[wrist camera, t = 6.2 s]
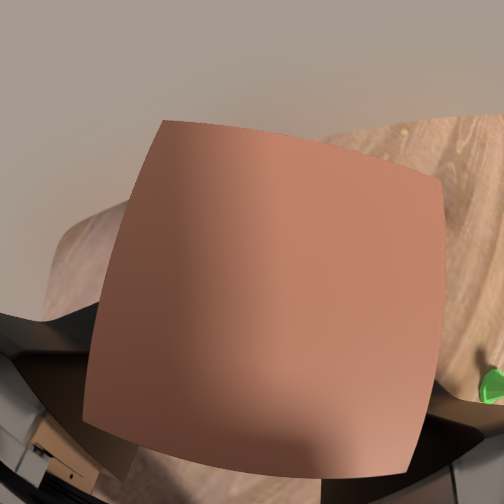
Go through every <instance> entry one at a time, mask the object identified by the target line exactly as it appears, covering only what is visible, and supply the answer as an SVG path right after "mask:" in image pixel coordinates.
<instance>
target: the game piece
mask: <svg viewBox="0 0 504 504" xmlns="http://www.w3.org/2000/svg"><path fill="white" fill-rule="evenodd" d="M479 393H480V402H483V403H487V404H492V403H493V402H494V401H495V400H498V399H500V398H503V397H504V377H503V372H502V371H500V370H498V369H491V370H490V371H489V372H488V373H487V374H486V375H485V376H484V378H483V381H482V384H481V387H480V389H479Z"/></svg>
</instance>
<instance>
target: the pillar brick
mask: <svg viewBox="0 0 504 504" xmlns="http://www.w3.org/2000/svg"><path fill="white" fill-rule="evenodd" d="M445 291H446V230H445V214H444V202H443V193H442V184H441V180H440V179H437V178H434V177H432V176H429V175H427V174H424V173H421V172H418V171H416V170H413V169H410V168H407V167H404V166H401V165H398V164H395V163H392V162H389V161H386V160H383V159H379V158H376V157H373V156H369V155H366V154H363V153H359V152H355V151H352V150H348V149H344V148H340V147H336V146H332V145H328V144H324V143H320V142H315V141H311V140H306V139H302V138H297V137H292V136H287V135H282V134H276V133H270V132H265V131H259V130H252V129H246V128H239V127H231V126H223V125H214V124H206V123H195V122H183V121H168V120H163V121H162V124H161V126H160V128H159V130H158V132H157V134H156V136H155V138H154V140H153V143H152V145H151V147H150V150H149V152H148V154H147V156H146V159H145V161H144V164H143V166H142V168H141V171H140V173H139V176H138V178H137V181H136V183H135V186H134V188H133V191H132V194H131V196H130V199H129V202H128V205H127V208H126V210H125V213H124V216H123V219H122V222H121V225H120V228H119V231H118V234H117V238H116V241H115V244H114V247H113V251H112V254H111V258H110V261H109V265H108V269H107V272H106V276H105V280H104V284H103V288H102V292H101V297H100V301H99V305H98V310H97V315H96V320H95V325H94V330H93V335H92V341H91V347H90V353H89V360H88V367H87V375H86V384H85V393H84V405H83V420H82V421H84V422H86V423H88V424H90V425H92V426H94V427H97V428H99V429H101V430H103V431H105V432H108V433H110V434H112V435H114V436H117V437H119V438H122V439H124V440H127V441H129V442H132V443H134V444H137V445H140V446H143V447H145V448H148V449H151V450H154V451H157V452H160V453H163V454H167V455H170V456H173V457H177V458H180V459H184V460H188V461H191V462H195V463H199V464H204V465H208V466H213V467H217V468H222V469H228V470H233V471H239V472H245V473H252V474H260V475H268V476H278V477H291V478H312V479H340V478H361V477H373V476H383V475H391V474H399V473H405V472H406V471H407V469H408V466H409V464H410V461H411V458H412V456H413V453H414V450H415V447H416V444H417V441H418V438H419V435H420V432H421V429H422V426H423V422H424V419H425V415H426V412H427V408H428V404H429V400H430V396H431V392H432V387H433V383H434V378H435V373H436V368H437V362H438V356H439V350H440V343H441V336H442V327H443V318H444V306H445Z"/></svg>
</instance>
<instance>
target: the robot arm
mask: <svg viewBox="0 0 504 504" xmlns="http://www.w3.org/2000/svg"><path fill="white" fill-rule="evenodd" d="M98 305H99V302H97V303H95V304H92V305H90V306H88V307H85V308H83V309H80V310H78V311H75V312H73V313H70V314H68V315H65V316H63V317H60V318H58V319H55V320H52V321H45V322H37V321H32V320H27V319H23V318H19V317H14V316H10V315H6V314H2V313H0V504H109V503H106V502H104V501H102V500H100V499H98V498H96V497H94V496H92V495H91V494H92V491H93V489H94V486H95V483H96V481H97V478H98V476H99V473H102V474H104V475H107V476H109V477H111V478H113V479H116V480H118V481H120V482H124V480H125V478H126V475H127V473H128V470H129V468H130V466H131V463H132V461H133V458H134V456H135V454H136V451H137V449H138V446H139V445H137V444H134V443H132V442H129V441H127V440H124V439H122V438H119V437H117V436H114V435H112V434H110V433H108V432H105V431H103V430H101V429H99V428H97V427H94V426H92V425H90V424H88V423H86V422H84V421H82V420H83V405H84V393H85V384H86V375H87V367H88V360H89V353H90V347H91V341H92V335H93V330H94V325H95V320H96V315H97V310H98ZM320 504H504V405H494V404H485V403H477V402H470V401H464V400H461V399H458V398H456V397H454V396H453V395H451V394H450V393H449V392H448V391H447V390H446V389H445V388H444V387H443V386H442V385H441V384H439V383H438V382H437V381H436V380H435V379H434V383H433V387H432V392H431V396H430V400H429V404H428V408H427V412H426V415H425V419H424V422H423V426H422V429H421V432H420V435H419V438H418V441H417V444H416V447H415V450H414V453H413V456H412V458H411V461H410V464H409V466H408V469H407V471H406V472H405V473H399V474H391V475H383V476H373V477H361V478H340V479H321V503H320Z"/></svg>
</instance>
